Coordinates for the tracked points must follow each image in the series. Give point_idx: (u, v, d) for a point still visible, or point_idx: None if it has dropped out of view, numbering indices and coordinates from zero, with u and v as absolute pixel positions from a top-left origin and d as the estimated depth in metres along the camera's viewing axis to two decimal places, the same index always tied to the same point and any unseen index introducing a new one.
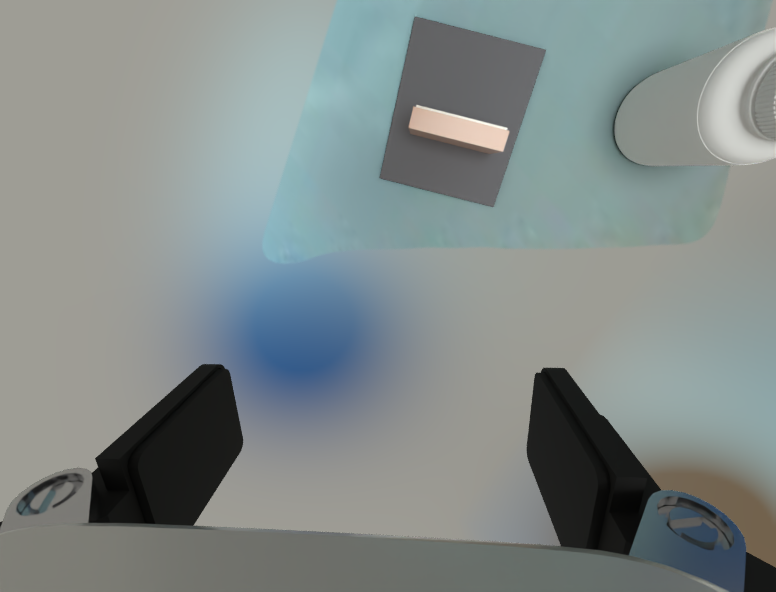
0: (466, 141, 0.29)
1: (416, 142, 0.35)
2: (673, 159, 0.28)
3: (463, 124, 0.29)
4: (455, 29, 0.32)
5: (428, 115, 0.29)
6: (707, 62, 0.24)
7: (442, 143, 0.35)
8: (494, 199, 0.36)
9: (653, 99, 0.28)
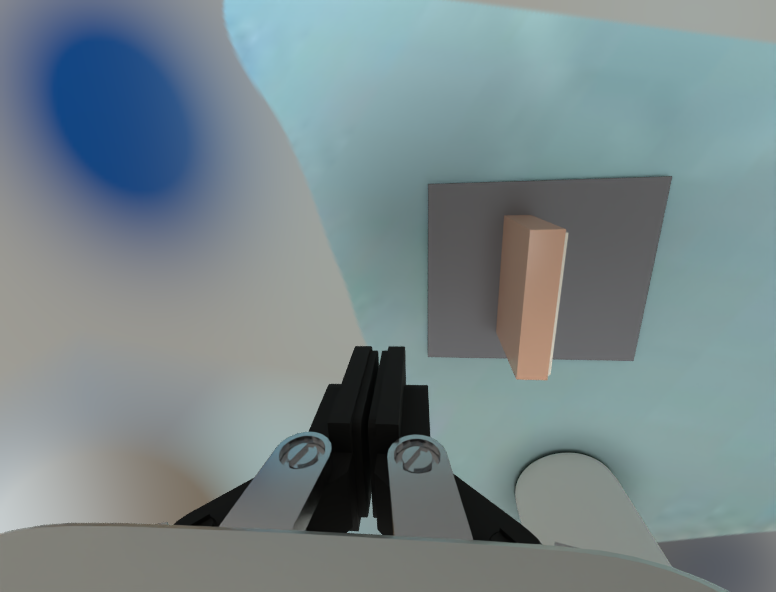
0: (522, 326, 0.18)
1: (493, 228, 0.23)
2: None
3: (547, 315, 0.18)
4: (655, 241, 0.22)
5: (554, 258, 0.17)
6: None
7: (498, 266, 0.23)
8: (438, 355, 0.26)
9: (603, 514, 0.23)
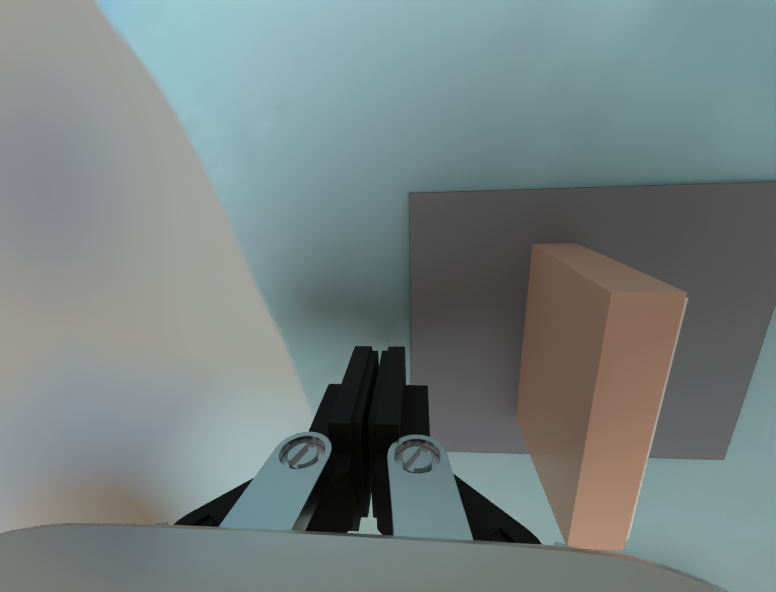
0: (584, 463, 0.10)
1: (514, 264, 0.14)
2: None
3: (634, 447, 0.09)
4: None
5: (657, 347, 0.08)
6: None
7: (521, 322, 0.15)
8: None
9: None
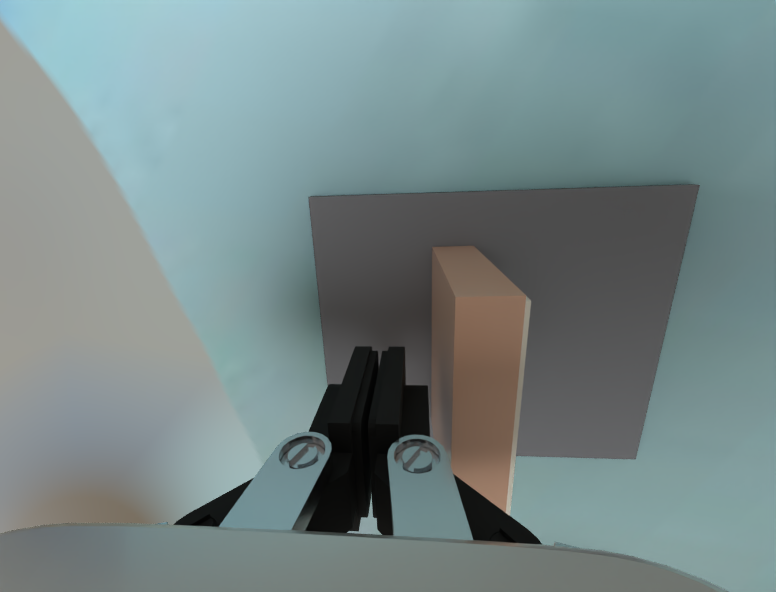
0: (453, 465, 0.10)
1: (416, 266, 0.14)
2: None
3: (497, 447, 0.10)
4: (670, 288, 0.14)
5: (505, 349, 0.09)
6: None
7: (428, 324, 0.15)
8: None
9: None
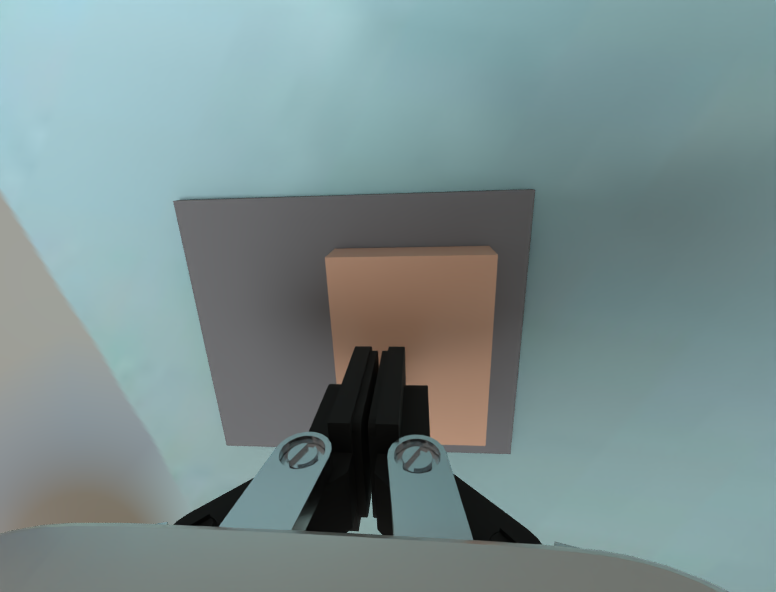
0: (488, 378, 0.14)
1: (281, 267, 0.15)
2: None
3: None
4: (521, 289, 0.14)
5: None
6: None
7: (300, 323, 0.16)
8: (240, 443, 0.18)
9: None
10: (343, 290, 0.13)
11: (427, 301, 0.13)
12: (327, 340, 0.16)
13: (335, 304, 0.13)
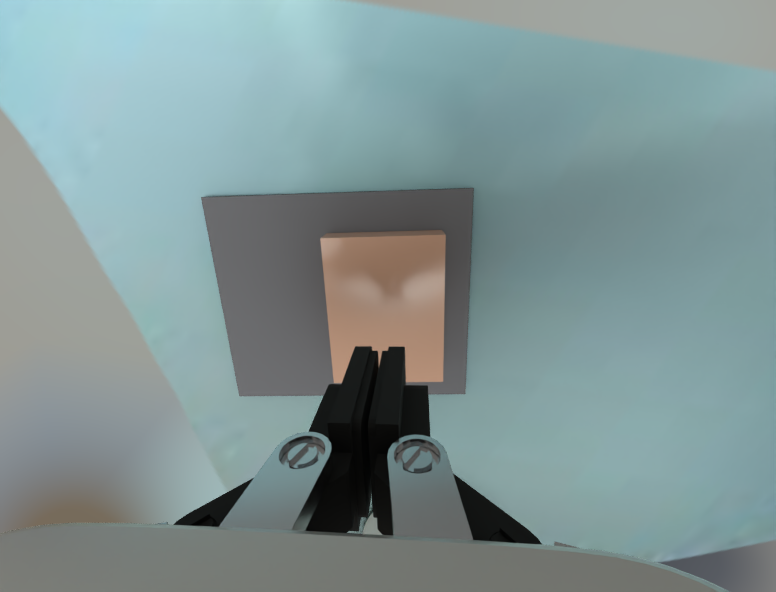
0: (443, 328, 0.19)
1: (285, 248, 0.19)
2: None
3: None
4: (467, 262, 0.19)
5: None
6: None
7: (299, 292, 0.20)
8: (250, 394, 0.22)
9: None
10: (334, 262, 0.18)
11: (396, 270, 0.18)
12: (321, 306, 0.20)
13: (328, 273, 0.18)
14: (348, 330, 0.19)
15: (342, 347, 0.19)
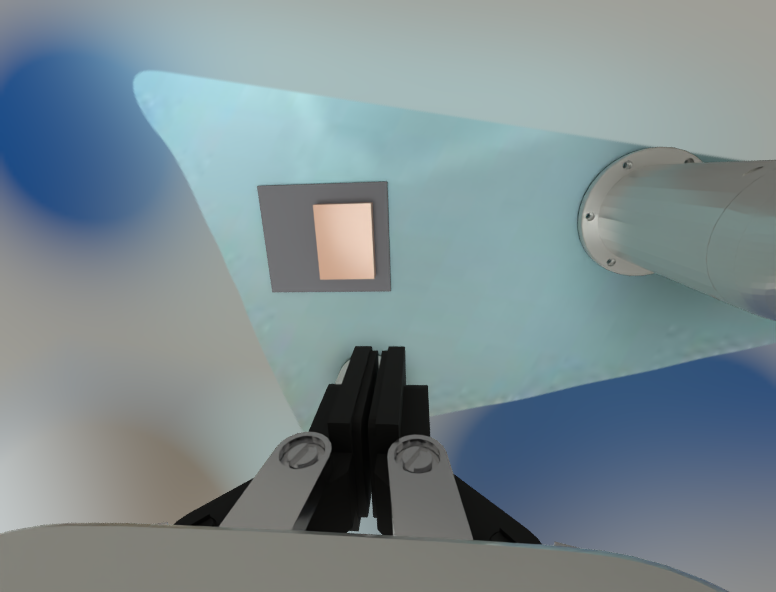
0: (372, 250, 0.38)
1: (297, 211, 0.39)
2: None
3: None
4: (386, 218, 0.39)
5: (372, 215, 0.38)
6: None
7: (304, 234, 0.40)
8: (278, 291, 0.42)
9: None
10: (319, 216, 0.37)
11: (348, 220, 0.37)
12: (314, 241, 0.40)
13: (316, 222, 0.37)
14: (326, 251, 0.38)
15: (324, 260, 0.39)
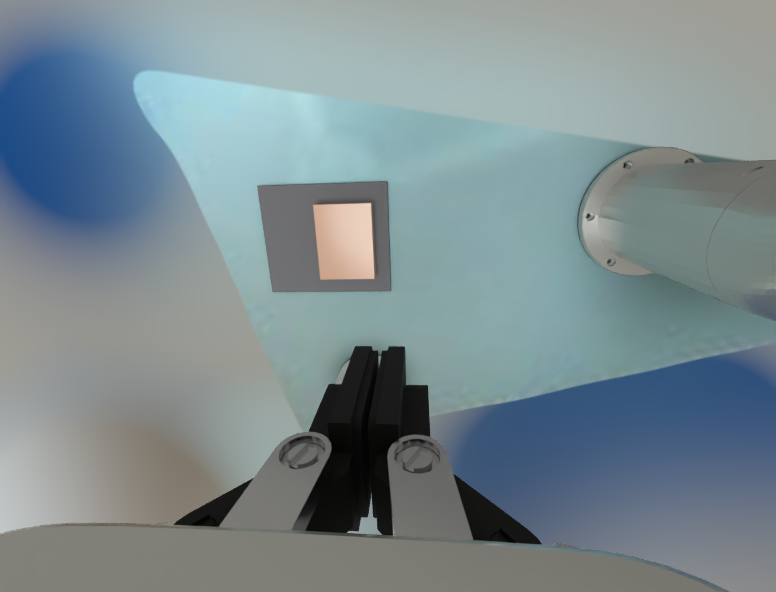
0: (372, 250, 0.38)
1: (297, 211, 0.39)
2: None
3: (374, 242, 0.39)
4: (386, 218, 0.39)
5: (372, 215, 0.38)
6: None
7: (304, 234, 0.40)
8: (278, 290, 0.42)
9: None
10: (319, 216, 0.37)
11: (348, 220, 0.37)
12: (315, 241, 0.40)
13: (317, 222, 0.38)
14: (327, 251, 0.38)
15: (324, 260, 0.39)
